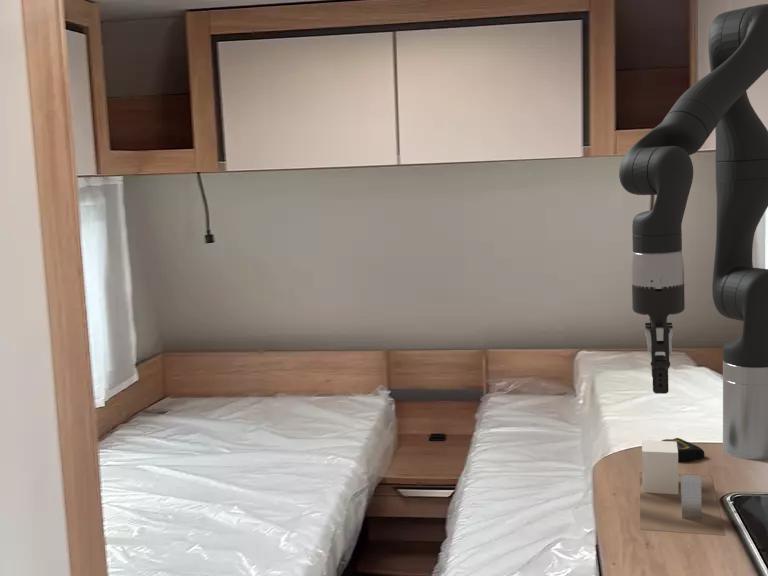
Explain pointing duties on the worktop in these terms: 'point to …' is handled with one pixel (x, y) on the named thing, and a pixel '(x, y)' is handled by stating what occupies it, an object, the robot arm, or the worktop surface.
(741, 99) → the robot arm
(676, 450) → the white rectangular block
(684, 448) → the tape measure
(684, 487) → the post
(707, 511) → the board
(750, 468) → the worktop surface
